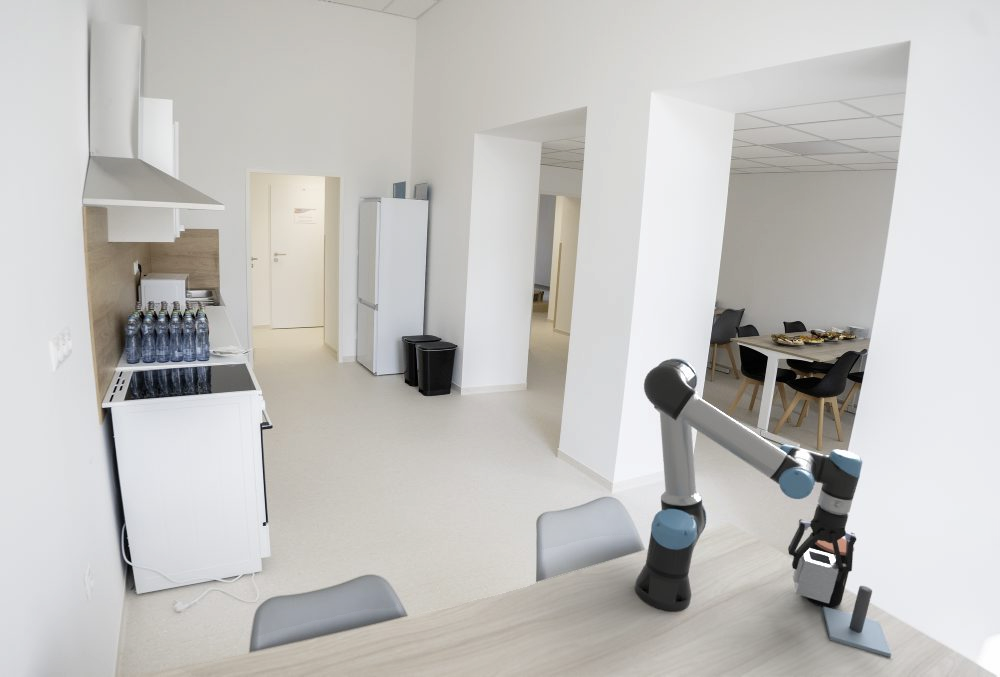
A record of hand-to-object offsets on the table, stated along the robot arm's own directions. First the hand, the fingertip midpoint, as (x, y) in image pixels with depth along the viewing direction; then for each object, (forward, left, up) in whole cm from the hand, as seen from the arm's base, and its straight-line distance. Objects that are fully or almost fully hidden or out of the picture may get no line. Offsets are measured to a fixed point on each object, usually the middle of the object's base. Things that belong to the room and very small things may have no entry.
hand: (812, 584), depth 168 cm
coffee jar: (+6, +14, -11) cm, 19 cm away
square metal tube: (0, 0, -2) cm, 2 cm away
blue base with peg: (+13, +1, -11) cm, 17 cm away
